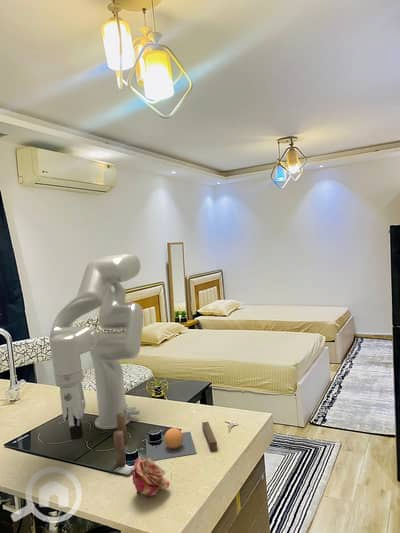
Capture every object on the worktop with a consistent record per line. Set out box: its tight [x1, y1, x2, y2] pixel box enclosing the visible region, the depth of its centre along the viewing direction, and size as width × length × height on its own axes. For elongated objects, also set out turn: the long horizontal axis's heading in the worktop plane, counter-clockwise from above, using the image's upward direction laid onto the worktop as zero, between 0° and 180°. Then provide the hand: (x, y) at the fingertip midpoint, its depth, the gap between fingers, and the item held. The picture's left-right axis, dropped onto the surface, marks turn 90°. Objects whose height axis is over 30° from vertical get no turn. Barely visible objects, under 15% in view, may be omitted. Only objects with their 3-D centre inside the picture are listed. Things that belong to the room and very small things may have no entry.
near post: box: [113, 430, 127, 468], centre depth 108 cm, size 3×3×9 cm
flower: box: [130, 457, 171, 501], centre depth 94 cm, size 10×9×8 cm
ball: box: [163, 427, 183, 449], centre depth 115 cm, size 6×6×6 cm
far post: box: [116, 413, 128, 446], centre depth 121 cm, size 3×3×9 cm
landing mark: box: [145, 431, 197, 462], centre depth 117 cm, size 14×14×1 cm
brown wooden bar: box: [201, 421, 218, 452], centre depth 119 cm, size 2×14×2 cm, turn 9°
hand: (77, 437), depth 114 cm, fingers closed
